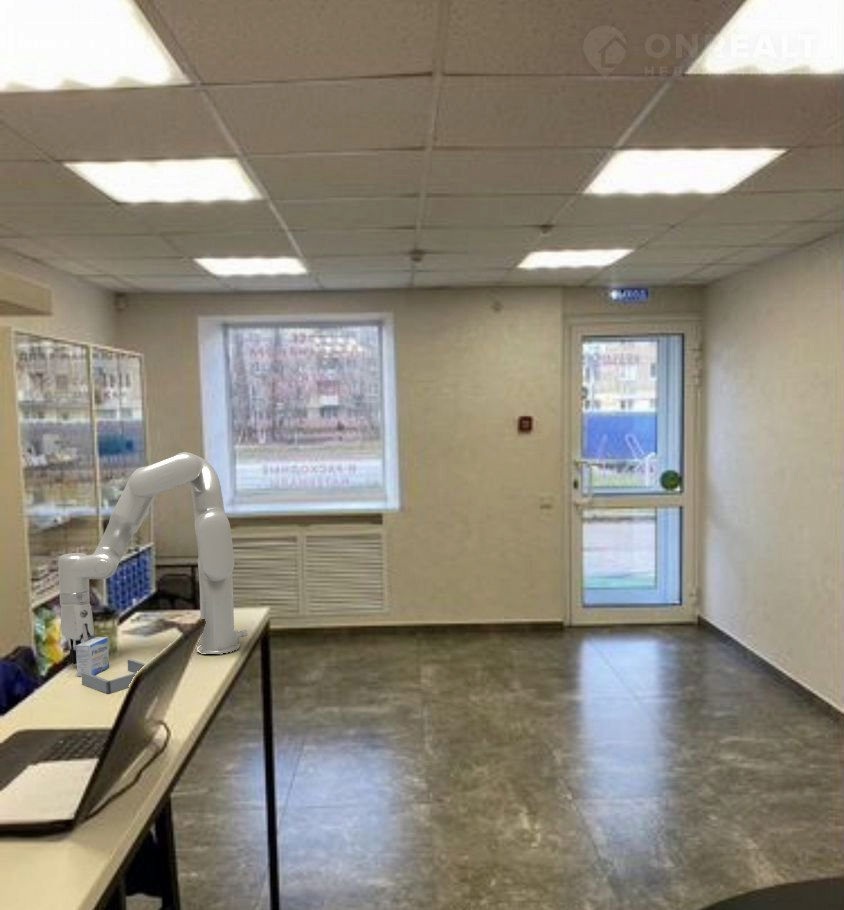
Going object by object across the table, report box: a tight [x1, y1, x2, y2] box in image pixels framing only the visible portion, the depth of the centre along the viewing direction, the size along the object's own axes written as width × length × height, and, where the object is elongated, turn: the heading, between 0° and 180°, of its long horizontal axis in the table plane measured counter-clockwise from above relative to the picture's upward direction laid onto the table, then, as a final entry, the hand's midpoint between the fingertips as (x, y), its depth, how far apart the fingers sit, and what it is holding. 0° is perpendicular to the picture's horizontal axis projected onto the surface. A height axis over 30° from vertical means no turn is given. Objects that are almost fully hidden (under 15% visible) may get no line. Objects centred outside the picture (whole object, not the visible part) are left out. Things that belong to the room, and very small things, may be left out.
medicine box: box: [76, 636, 110, 677], centre depth 196 cm, size 8×4×9 cm, turn 168°
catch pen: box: [81, 658, 146, 695], centre depth 188 cm, size 14×13×3 cm
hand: (77, 662), depth 202 cm, fingers closed
